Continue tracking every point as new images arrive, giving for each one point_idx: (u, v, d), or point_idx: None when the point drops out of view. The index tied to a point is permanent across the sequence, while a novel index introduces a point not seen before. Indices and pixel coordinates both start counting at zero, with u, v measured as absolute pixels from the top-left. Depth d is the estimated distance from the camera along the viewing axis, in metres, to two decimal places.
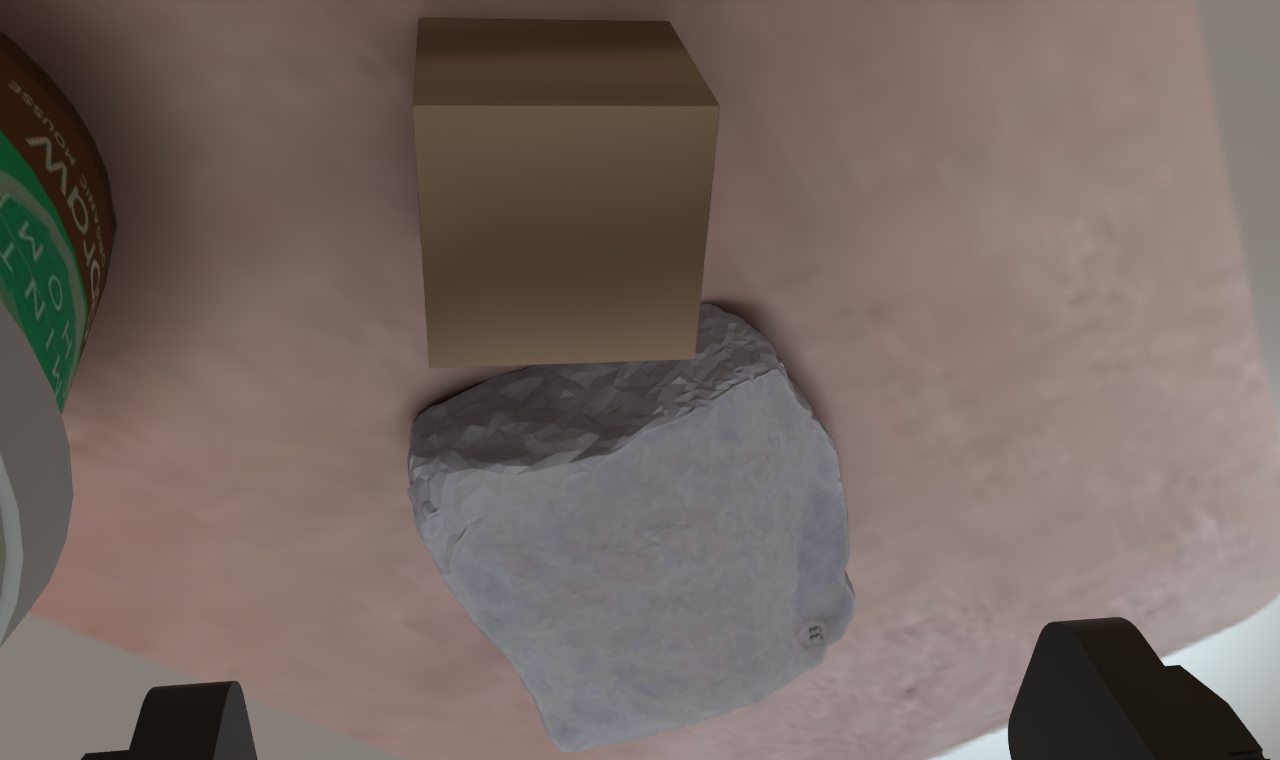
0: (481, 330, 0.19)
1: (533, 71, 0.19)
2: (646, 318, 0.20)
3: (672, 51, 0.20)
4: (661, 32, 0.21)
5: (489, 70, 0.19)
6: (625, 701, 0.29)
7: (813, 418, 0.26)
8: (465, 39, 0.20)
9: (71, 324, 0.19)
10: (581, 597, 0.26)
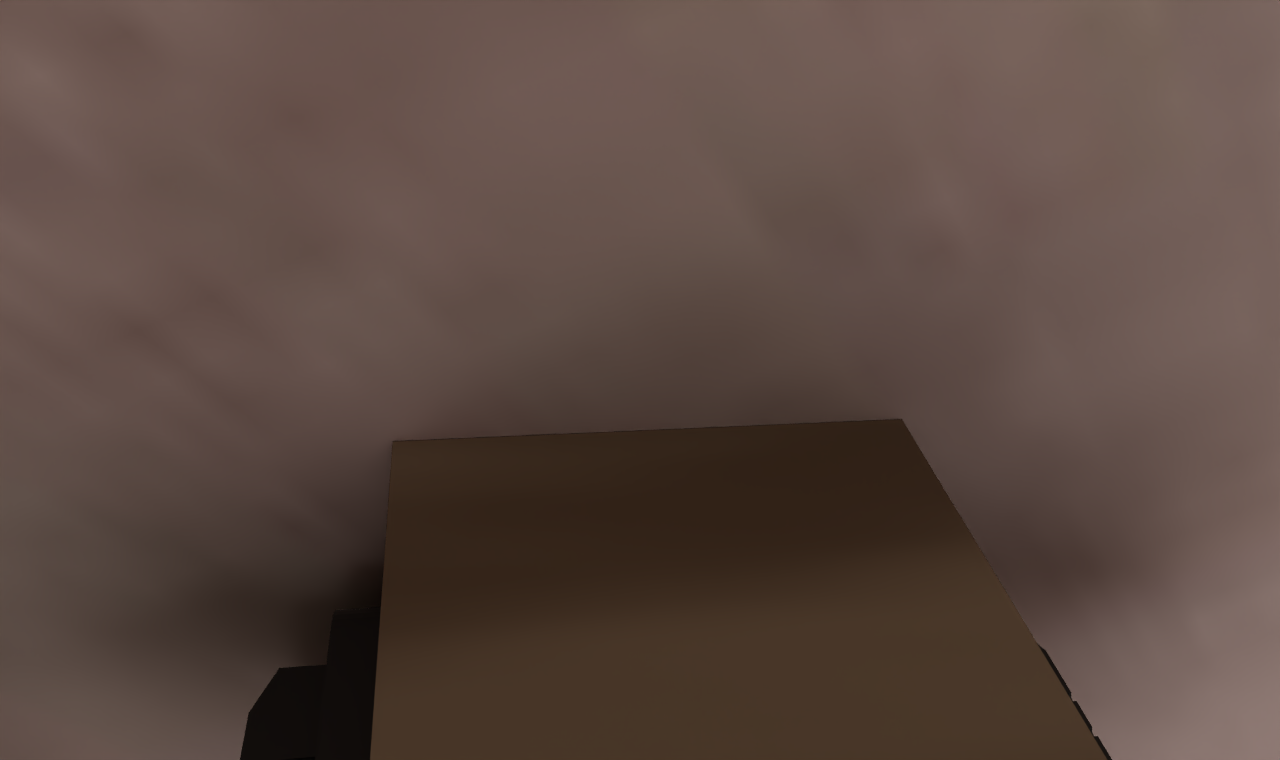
0: None
1: (666, 705, 0.08)
2: None
3: (955, 562, 0.09)
4: (903, 469, 0.10)
5: (558, 713, 0.07)
6: None
7: None
8: (493, 542, 0.09)
9: None
10: None
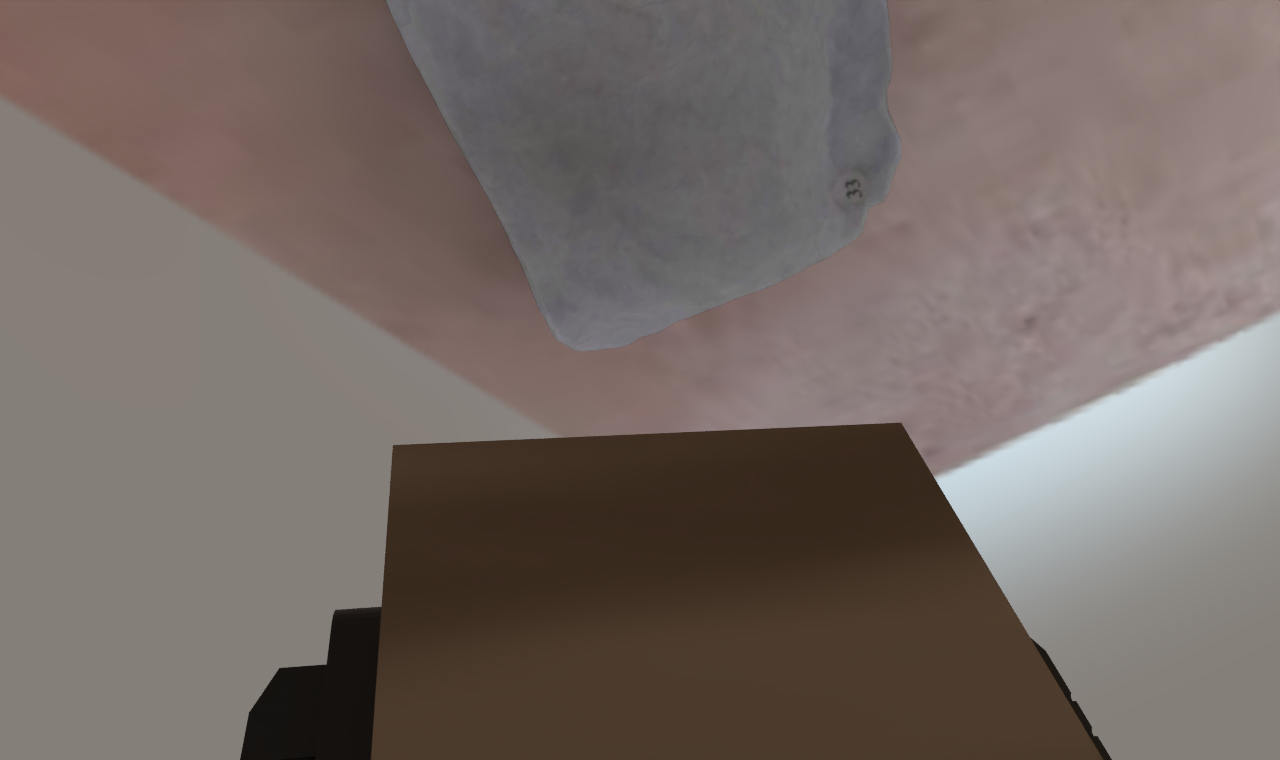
0: None
1: (665, 710, 0.08)
2: None
3: (954, 566, 0.09)
4: (902, 473, 0.10)
5: (557, 716, 0.08)
6: (630, 263, 0.24)
7: None
8: (493, 546, 0.09)
9: None
10: (572, 82, 0.21)
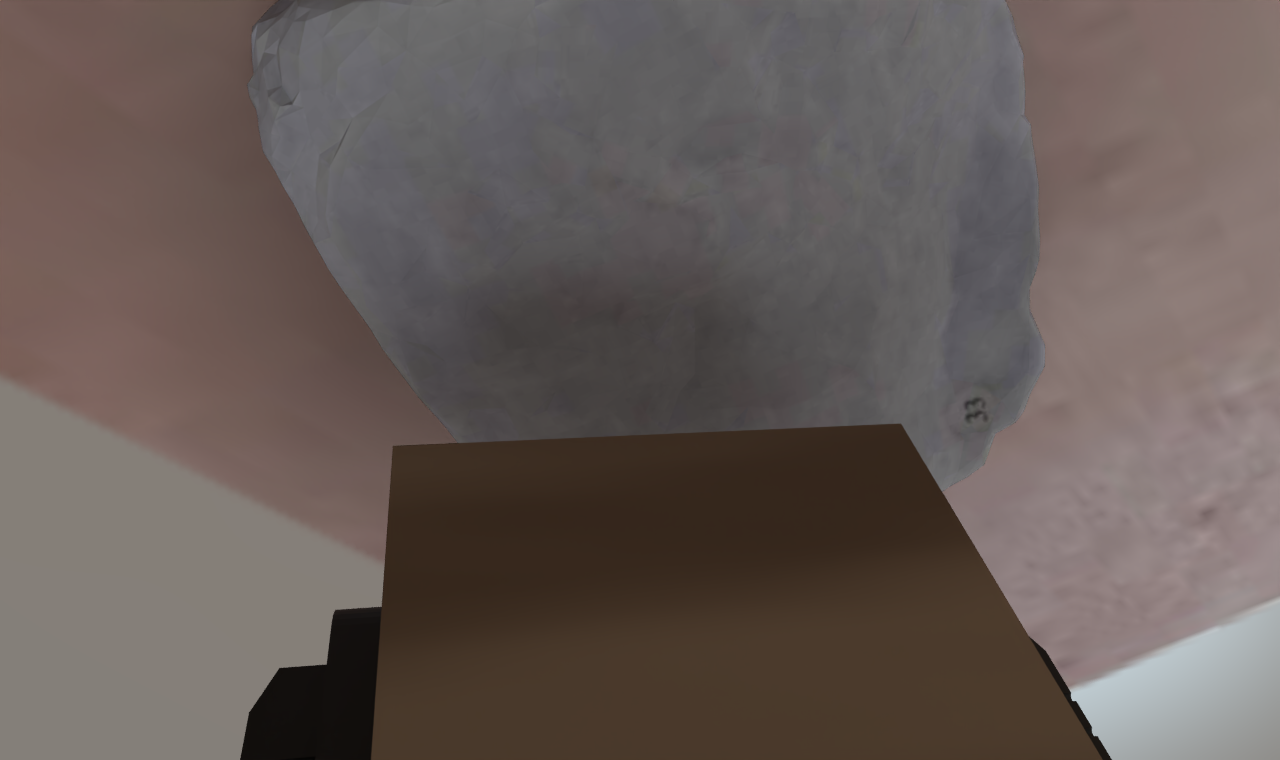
0: None
1: (666, 710, 0.08)
2: None
3: (954, 567, 0.09)
4: (902, 473, 0.10)
5: (557, 716, 0.08)
6: None
7: None
8: (493, 546, 0.09)
9: None
10: (580, 304, 0.14)
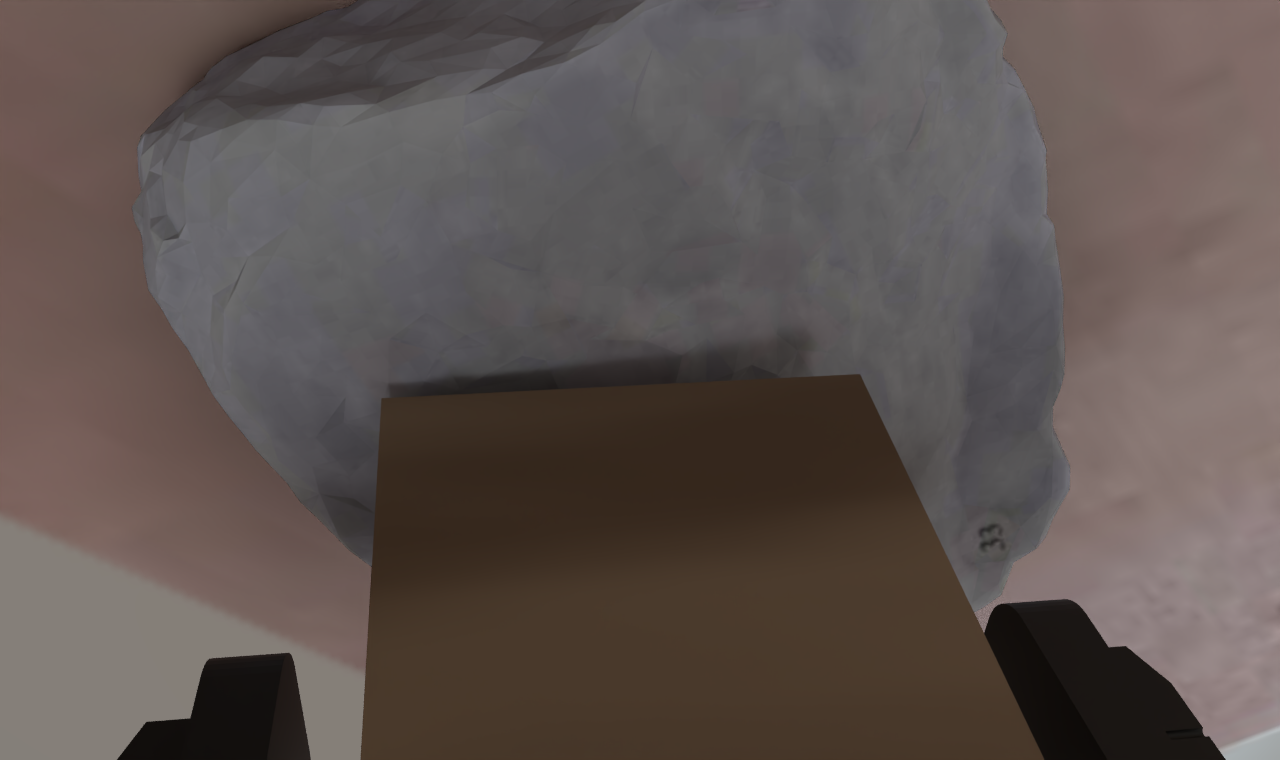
0: None
1: (628, 654, 0.09)
2: None
3: (898, 517, 0.10)
4: (857, 426, 0.11)
5: (530, 660, 0.08)
6: None
7: (1005, 60, 0.12)
8: (474, 497, 0.10)
9: None
10: None
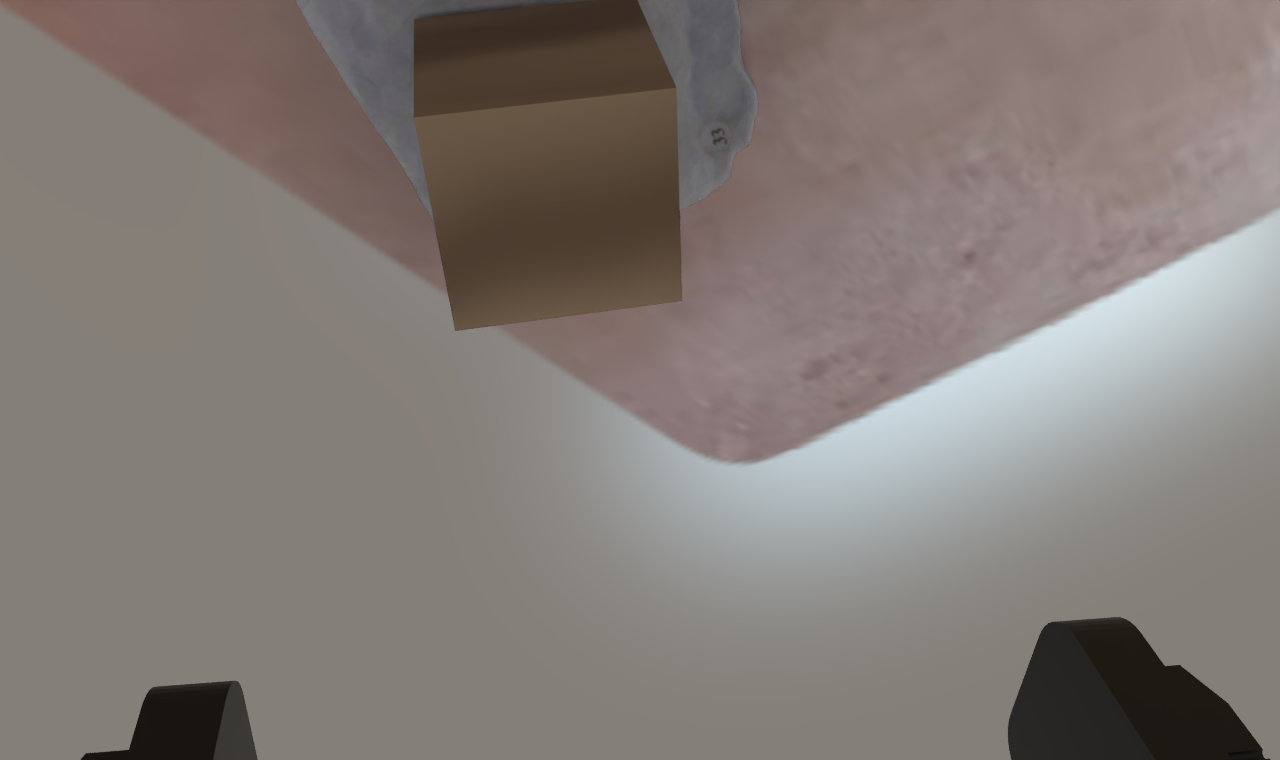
0: (494, 294, 0.23)
1: (516, 68, 0.22)
2: (635, 271, 0.23)
3: (637, 31, 0.23)
4: (628, 9, 0.24)
5: (477, 72, 0.21)
6: None
7: None
8: (455, 40, 0.23)
9: None
10: None
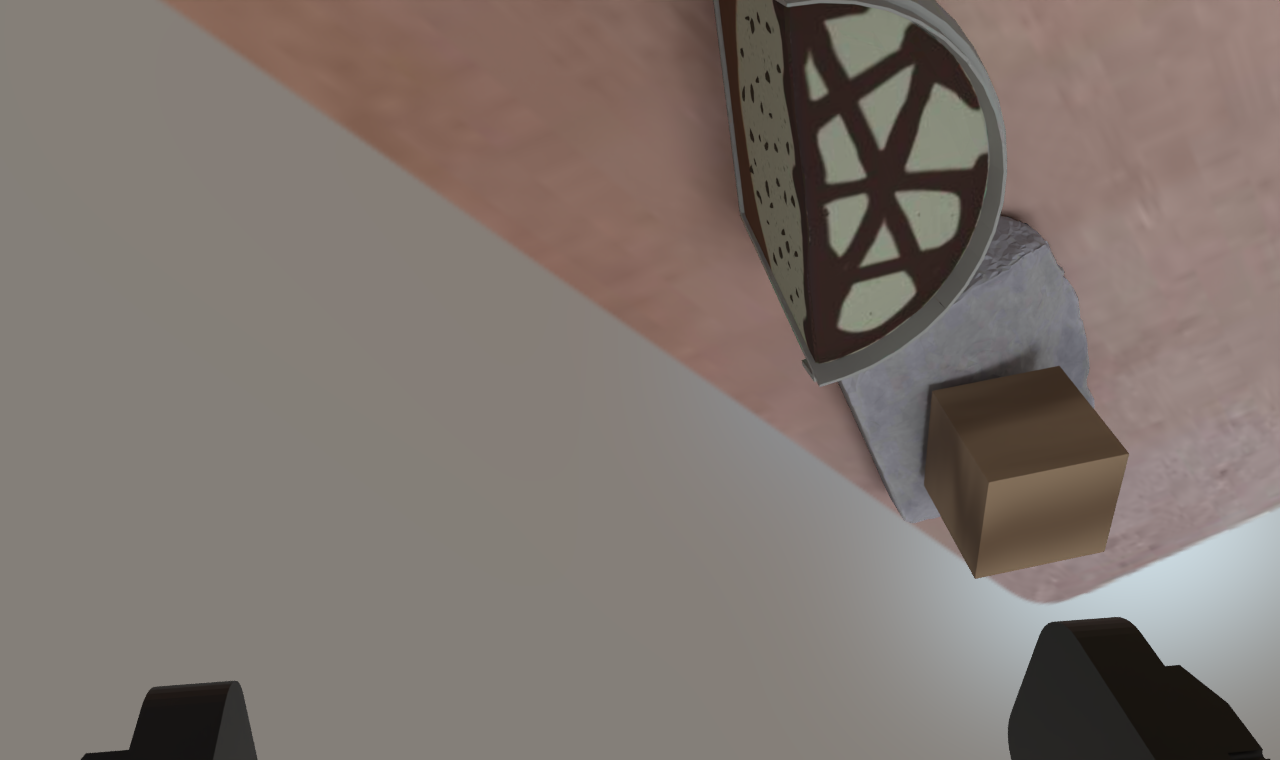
0: (1002, 559, 0.39)
1: (1023, 438, 0.38)
2: (1082, 539, 0.39)
3: (1079, 401, 0.39)
4: (1062, 380, 0.40)
5: (1002, 441, 0.38)
6: None
7: (1064, 277, 0.41)
8: (971, 411, 0.39)
9: None
10: (929, 403, 0.41)
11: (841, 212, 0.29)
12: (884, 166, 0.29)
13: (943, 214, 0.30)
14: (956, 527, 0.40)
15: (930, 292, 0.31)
